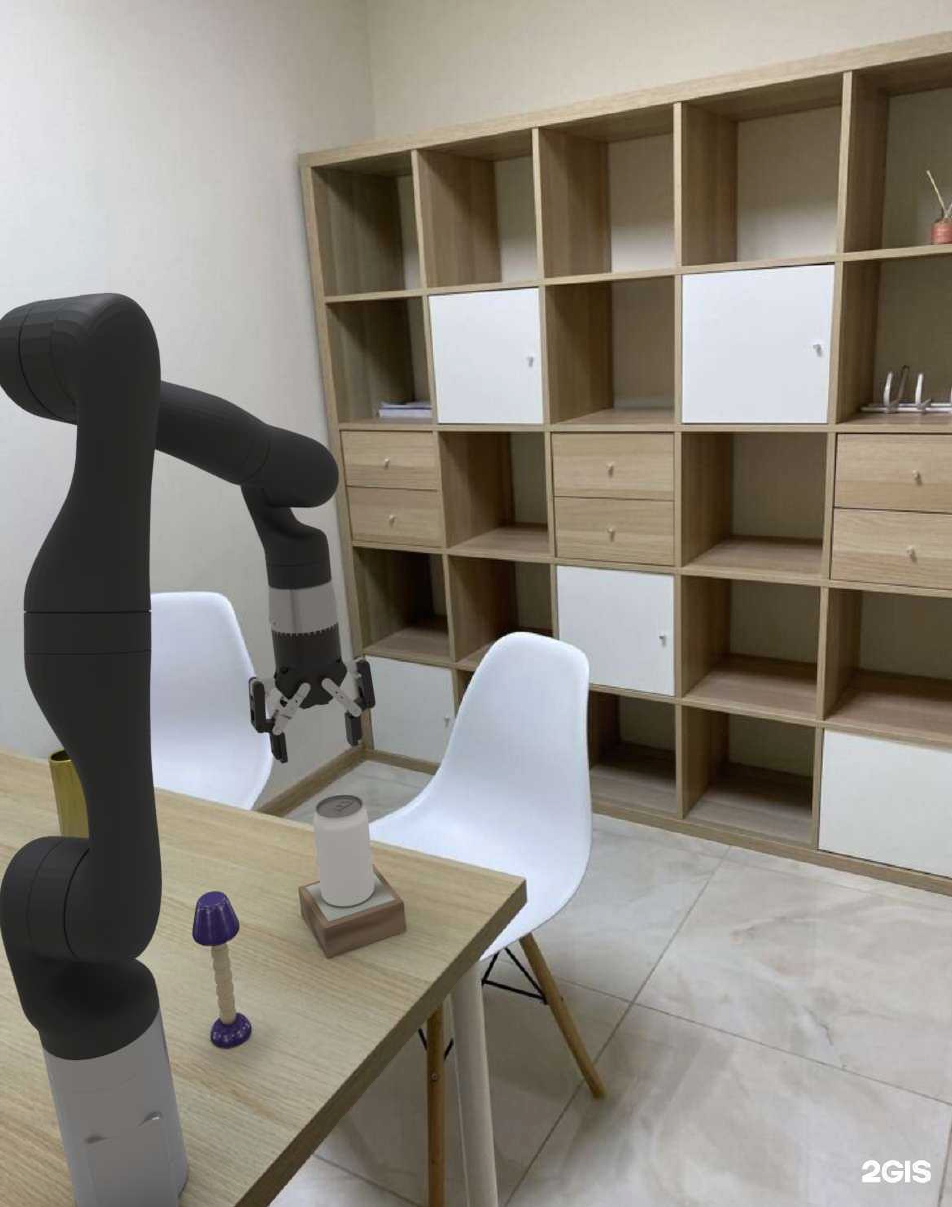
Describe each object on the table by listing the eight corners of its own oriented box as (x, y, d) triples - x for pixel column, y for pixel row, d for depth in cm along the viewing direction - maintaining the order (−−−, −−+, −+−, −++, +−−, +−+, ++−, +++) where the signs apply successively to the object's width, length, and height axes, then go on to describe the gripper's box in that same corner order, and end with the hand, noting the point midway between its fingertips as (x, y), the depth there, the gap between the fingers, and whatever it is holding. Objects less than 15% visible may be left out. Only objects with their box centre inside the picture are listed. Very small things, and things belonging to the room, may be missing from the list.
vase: (61, 838, 143) (44, 750, 139) (104, 827, 145) (89, 741, 141) (63, 857, 138) (45, 766, 134) (108, 846, 140) (92, 756, 136)
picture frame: (406, 930, 117) (403, 900, 116) (327, 958, 112) (324, 927, 111) (375, 890, 125) (372, 862, 124) (301, 915, 121) (298, 885, 120)
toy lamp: (264, 1030, 101) (244, 892, 97) (230, 1058, 98) (208, 916, 93) (232, 1014, 104) (212, 879, 99) (198, 1041, 100) (176, 902, 96)
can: (310, 901, 116) (300, 812, 113) (342, 874, 122) (333, 788, 118) (354, 914, 113) (344, 823, 110) (385, 886, 119) (377, 798, 115)
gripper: (249, 640, 102) (267, 779, 107) (375, 617, 108) (386, 749, 113) (233, 623, 109) (250, 755, 113) (353, 602, 115) (364, 727, 119)
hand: (318, 752), depth 113 cm, fingers open, 8 cm apart
